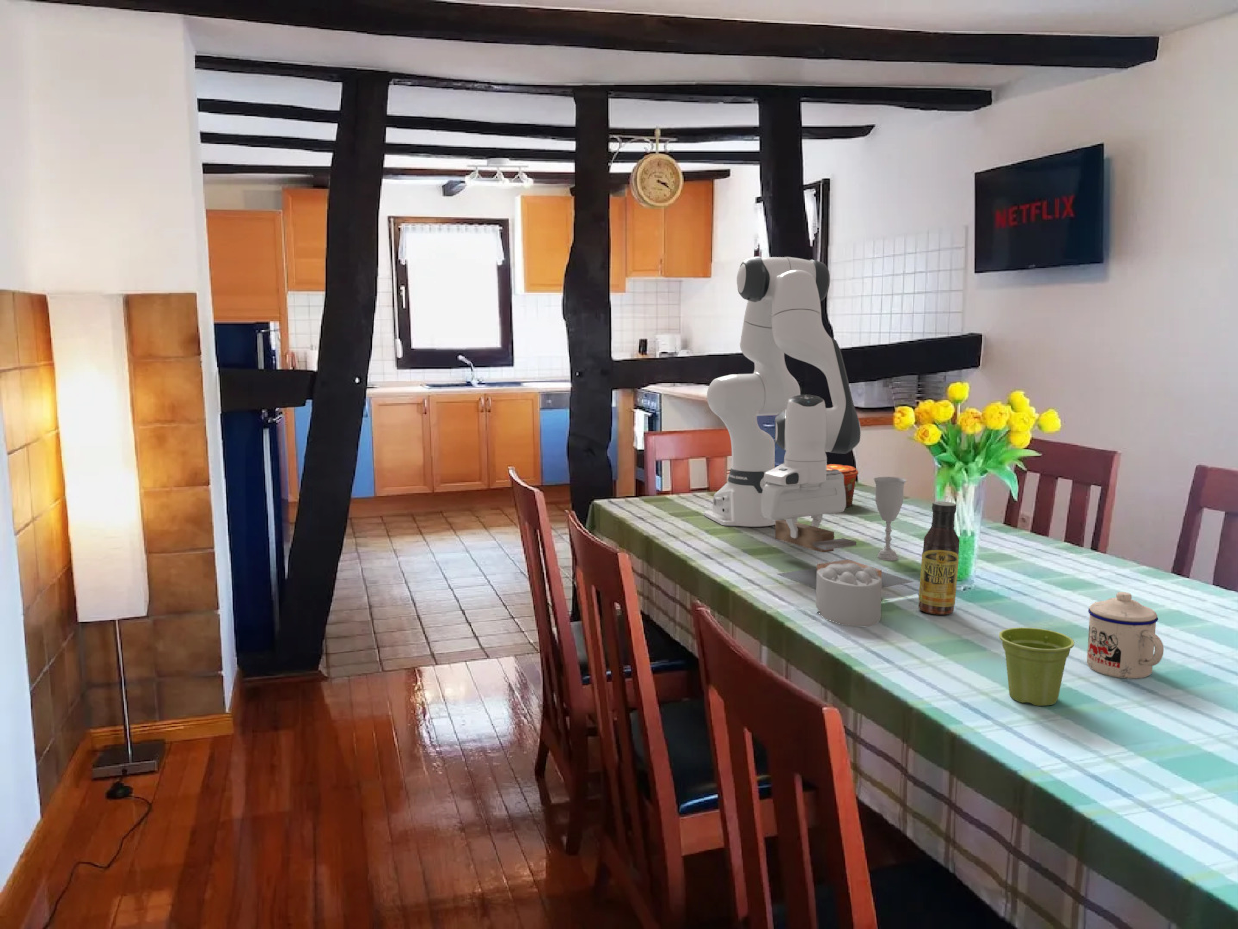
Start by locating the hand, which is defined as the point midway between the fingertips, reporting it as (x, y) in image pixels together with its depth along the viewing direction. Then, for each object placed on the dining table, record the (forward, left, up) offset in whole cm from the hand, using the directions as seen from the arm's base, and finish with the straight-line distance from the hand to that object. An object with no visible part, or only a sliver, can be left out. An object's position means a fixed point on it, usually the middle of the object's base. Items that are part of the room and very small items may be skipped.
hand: (803, 536), depth 198 cm
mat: (+13, 0, -7) cm, 15 cm away
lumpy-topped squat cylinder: (+31, -14, -7) cm, 35 cm away
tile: (+9, 0, -5) cm, 11 cm away
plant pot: (+72, -17, -7) cm, 74 cm away
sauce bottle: (+37, +1, -7) cm, 38 cm away
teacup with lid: (+72, +3, -7) cm, 72 cm away
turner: (+2, 0, -2) cm, 3 cm away
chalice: (+5, +19, -7) cm, 21 cm away
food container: (-52, +50, -7) cm, 72 cm away
